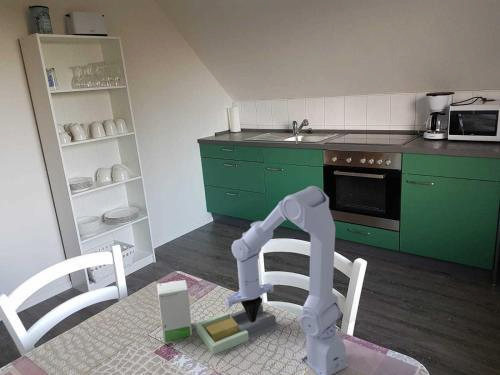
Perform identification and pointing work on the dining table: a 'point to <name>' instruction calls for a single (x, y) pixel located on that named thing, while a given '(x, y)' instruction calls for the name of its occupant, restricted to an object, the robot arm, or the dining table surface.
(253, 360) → the dining table surface
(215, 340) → the chip
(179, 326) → the skincare box
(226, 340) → the green and grey tray
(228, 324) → the chip
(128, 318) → the dining table surface
